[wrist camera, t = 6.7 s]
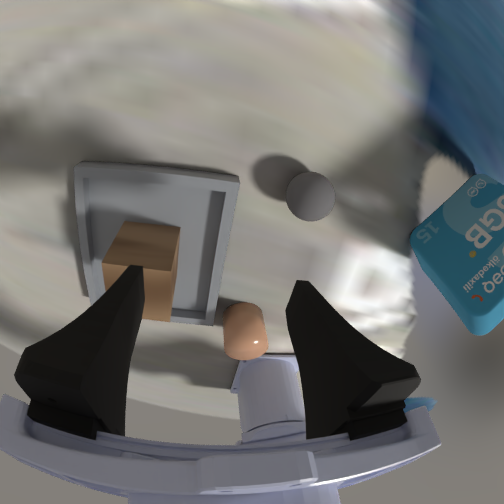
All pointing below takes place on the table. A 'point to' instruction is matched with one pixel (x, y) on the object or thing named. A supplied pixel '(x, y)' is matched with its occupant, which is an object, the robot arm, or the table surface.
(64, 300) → the table surface
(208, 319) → the tray
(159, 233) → the walnut block
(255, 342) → the peach rounded tapered piece
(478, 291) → the data package
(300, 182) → the rubber ball
